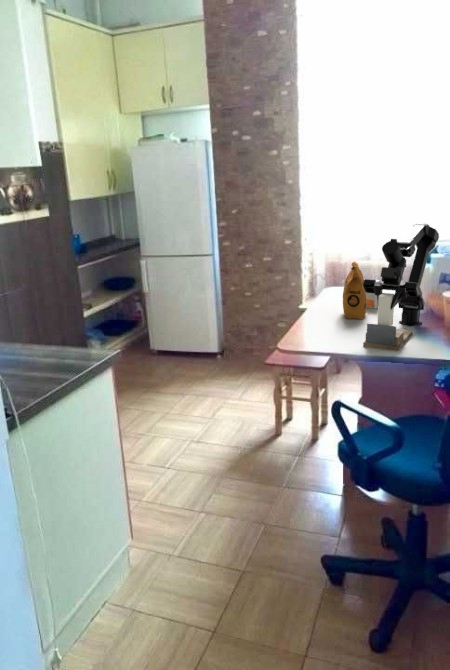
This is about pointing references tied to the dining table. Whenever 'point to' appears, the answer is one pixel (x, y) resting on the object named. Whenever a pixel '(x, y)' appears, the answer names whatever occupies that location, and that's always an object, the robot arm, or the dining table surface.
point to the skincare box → (372, 299)
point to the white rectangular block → (385, 309)
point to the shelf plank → (395, 348)
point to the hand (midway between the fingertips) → (384, 308)
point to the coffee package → (354, 294)
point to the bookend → (381, 334)
